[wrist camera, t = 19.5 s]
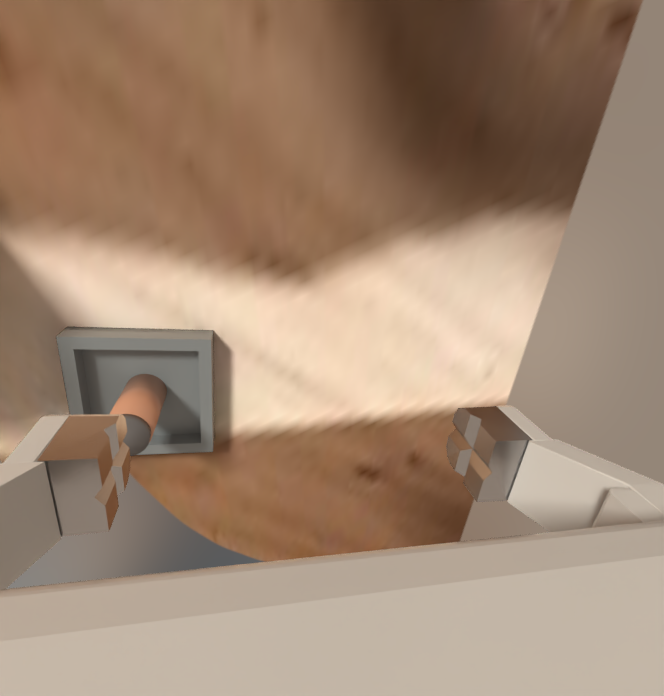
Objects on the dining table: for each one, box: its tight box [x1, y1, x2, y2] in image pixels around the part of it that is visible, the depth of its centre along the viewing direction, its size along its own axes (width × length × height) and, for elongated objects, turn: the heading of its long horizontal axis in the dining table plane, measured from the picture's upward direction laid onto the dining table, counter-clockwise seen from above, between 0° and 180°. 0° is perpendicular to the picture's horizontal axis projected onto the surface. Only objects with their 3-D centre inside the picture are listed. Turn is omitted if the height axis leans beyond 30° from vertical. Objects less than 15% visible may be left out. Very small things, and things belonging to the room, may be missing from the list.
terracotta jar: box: [110, 374, 167, 456], centre depth 37 cm, size 4×4×8 cm
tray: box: [56, 327, 214, 455], centre depth 40 cm, size 13×13×2 cm
